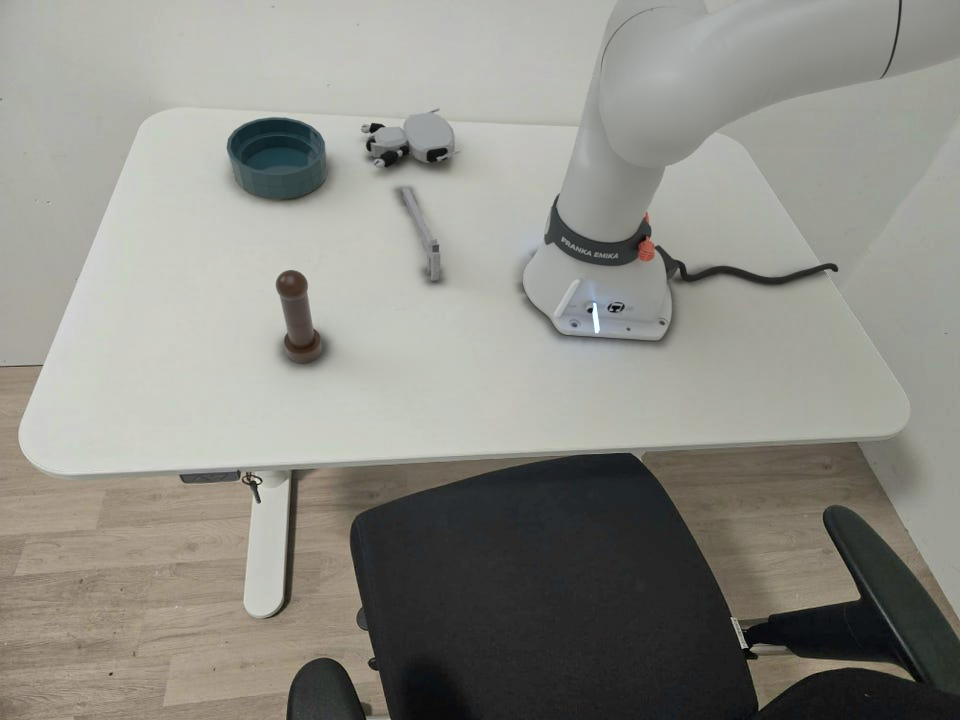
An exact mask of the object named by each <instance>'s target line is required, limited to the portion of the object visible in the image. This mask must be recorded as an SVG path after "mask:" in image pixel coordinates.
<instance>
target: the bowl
mask: <svg viewBox="0 0 960 720" xmlns="http://www.w3.org/2000/svg"><path fill="white" fill-rule="evenodd" d="M226 152H227V155H228V160H229V163H230V167H231V172H232V174H233V177H234V180H235V182H236V183H238V185H239V186H240V187H241V188H242V189H244V190H245V191H247V192H249V193H251V194H252V195H255V196H259V197H263V198H268V199H281V200H282V199H292V198H296V197H302V196H305V195H306V194H308V193H310V192H312V191H315V190H316V189H317V188H318V187H320V186H321V185H322V184H323V183H324V180H325V179H326V177H327V176H328V161H327V160H328V159H327V150H326V141H325V140H324V138H323V136H322V134H321V133H320V132H319V131H318V130H317V129H316V128H315V127H314V126H312V125H310V124H308V123H306V122H304V121H302V120H299V119H293V118H289V117H281V116H280V117H278V116H277V117H276V116H270V117H264V118H263V117H262V118H257V119H254V120H251V121H248V122H245V123H243V124H242V125H240V126H239V127H237V128H236V129H234V130H233V131H232V132H231V134H230V135H229V137H228V138H227V142H226Z"/></svg>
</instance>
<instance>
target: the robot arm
mask: <svg viewBox="0 0 960 720" xmlns="http://www.w3.org/2000/svg"><path fill="white" fill-rule="evenodd" d="M959 58H960V0H735V1H733V2H731V3H729V4H727V5H725V6H722V7H721V8H718V9H716V10H713V11H711V12H709V11H708V7H707V5H706V2H705V1H704V0H617V2H616V3H615V5H614V7H613V8H612V11H611V13H610V14H609V17H608V19H607V22H606V25H605V27H604V32H603V34H602V38H601V41H600V45H599V49H598V53H597V56H596V59H595V60H596V61H595V63H594V68H593V72H592V75H591V79H590V83H589V87H588V91H587V95H586V98H585V101H584V106H583V108H582V109H583V110H582V114H581V118H580V121H579V126H578V129H577V133H576V138H575V142H574V145H573V149H572V152H571V156H570V159H569V162H568V165H567V168H566V172H565V175H564V178H563V181H562V185H561V188H560V192H559V193H557V194H556V196H555V198H554V200H553V202H552V206H550V209H549V212H548V216H547V219H546V222H545V226H544V230H543V234H544V235H543V239H542V241H541V243H540V245H539V247H538V249H537V251H536V252H535V254H533V255H534V256H533V257H532V258H531V260H530V261H529V262H528V263H527V264H526V265H525V267H524V270H523V274H522V285H523V289H524V291H525V294H526V296H527V297H528V299H529V300H530V301H531V303H532V304H533V306H535V307H536V308H537V309H538V310H539V311H541V313H543V314H544V315H546V316H547V317H548V318H549V319H550V321H551V323H552V324H553V326H554V327H555V329H556V330H557V331H558V332H559V333H560V334H562V335H566V336H577V337H579V336H580V337H593V338H610V339H624V340H638V341H639V340H641V341H660V340H661V339H662V338H663V337H664V336H665V334H666V332H667V331H668V329H669V326H670V323H671V320H672V314H673V313H672V312H673V300H672V295H671V289H670V287H669V284H668V281H670V280H671V279H673V278H674V276H675V274H676V272H677V271H678V269H679V274H680V277H681V278H682V279H683V280H685V281H688V282H693V281H698V280H701V279H703V278H706V277H708V276H710V275H712V274H717V273H728V274H734V275H737V276H739V277H742V278H746V279H748V280H751V281H755V282H758V283H762V284H770V285H771V284H776V285H777V284H784V283H787V282H790V281H793V280H795V279H799V278H802V277H806V276H810V275H813V274H817V273H820V272H823V271H825V270H831V271H832V272H834V273H838V272H839V267H838V265H837V264H836V263H833V262H826V263H823V264H820V265H816V266H814V267H810V268H807V269H801V270H799V271H796V272H793V273H790V274H787V275H783V276H777V277H776V276H773V277H772V276H764V275H759V274H756V273H753V272H750V271H747V270H745V269H743V268H738V267H735V266H729V265H716V266H712V267H709V268H707V269H705V270H702V271H699V272H697V273H694V274H689V273H688V272H687V266H686V264H685V263H684V262H683V261H682V260H678V259H675V258H673V257H672V256H671V255H670V254H669V253H668V252H667V251H666V250H665V249H664V248H663V247H662V246H661V245H660V244H658V245H655V243H653V241H650V239H651V237H652V233H653V232H652V230H653V229H652V226H651V225H650V217H649V213H648V209H649V207H650V205H651V203H652V201H653V199H654V197H655V195H656V193H657V191H658V189H659V187H660V184H661V182H662V180H663V178H664V174H665V170H666V167H669V166H673V165H675V164H678V163H680V162H681V161H683V160H685V159H687V158H688V157H690V156H691V155H692V154H694V153H695V152H696V151H697V150H698V149H699V148H700V147H701V146H702V145H703V143H704V142H705V141H707V139H708V138H710V137H711V136H712V135H714V134H715V133H716V132H717V131H719V130H721V129H722V128H725V127H727V126H728V125H730V124H732V123H734V122H736V121H739V120H740V119H742V118H744V117H747V116H749V115H751V114H754V113H755V112H758V111H760V110H762V109H765V108H767V107H770V106H773V105H775V104H779V103H781V102H784V101H787V100H791V99H795V98H798V97H804V96H807V95H812V94H817V93H822V92H827V91H830V90H835V89H840V88H844V87H849V86H854V85H859V84H860V85H861V84H865V83H868V82H874V81H879V80H884V79H889V78H895V77H898V76H902V75H906V74H910V73H914V72H918V71H921V70H925V69H929V68H931V67H934V66H939V65H941V64H945V63H947V62H951V61H953V60H957V59H959Z"/></svg>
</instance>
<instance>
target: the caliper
mask: <svg viewBox="0 0 960 720" xmlns="http://www.w3.org/2000/svg"><path fill="white" fill-rule="evenodd" d="M400 190H401V193H402V198H403V200H404V202H405V204H406V207H407V209H408V212H409V214H410V216H411V218H412V221H413V223H414V225H415V227H416V230H417V232H418V235H419V237H420V243H421V246H422V248H423V250H424V251H425V252H426V262H427V273H428V275H430V280H431V281H439V279H440V273H441V252H440V243H438V239H437V238H434V236H433V234H432V233H431V230H430V228H429V227H428V226H427V224H426V222H425V220H424V218H423V216H422V213H421V211H420V208H419V207H418V204H417V203H416V200H415V198H414V196H413V194H412V192H411V189H410V188H408V187H402V188H400Z"/></svg>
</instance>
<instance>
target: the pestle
mask: <svg viewBox="0 0 960 720" xmlns="http://www.w3.org/2000/svg"><path fill="white" fill-rule="evenodd" d="M308 289H309V282H308V280H307V278H306V277H305V275H304V274H303V273H301V272H300V271H298V270H294V269H287V270H284V271H282V272H281V273H280V274H279V275H278V276H277V277H276V281H275V290H276V293H277V294H278V295H279V300H280V305H281V310H282V313H283V317H284V323H285V326H286V331H287V333H286V334H285V336H284V340H283V345H284V349H285V353H286V355H287V357H288V358H289V359H290V360H291V361H292V362H293V363H294V362H295V363H298V364H308V363H311V362H313V361H315V360H317V359H318V358H319V357H320V355H322V351H323V345H322V339H321V338H322V337H321V335H320V332H319V331H318V330H316V329H315V328H314V325H313V318H312V312H311V307H310V300H309V294H308Z"/></svg>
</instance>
